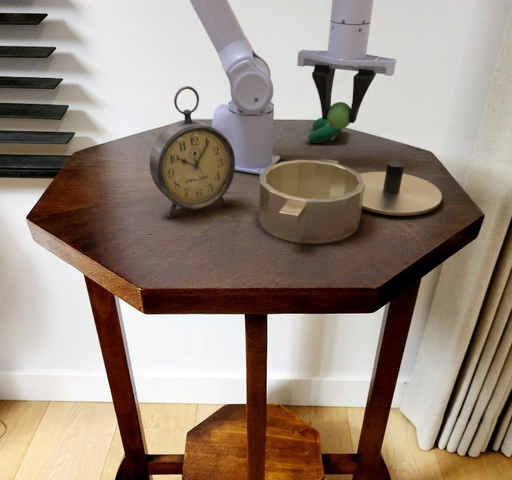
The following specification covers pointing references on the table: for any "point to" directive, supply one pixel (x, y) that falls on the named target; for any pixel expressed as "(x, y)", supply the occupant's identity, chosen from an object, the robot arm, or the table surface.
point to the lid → (398, 192)
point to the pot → (310, 201)
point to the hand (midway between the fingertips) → (339, 119)
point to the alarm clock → (192, 162)
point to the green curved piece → (322, 131)
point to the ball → (338, 115)
